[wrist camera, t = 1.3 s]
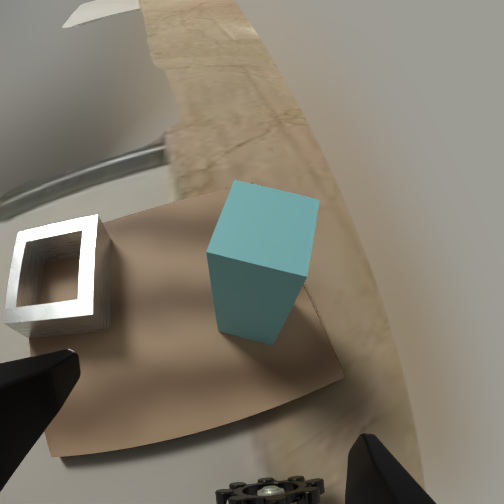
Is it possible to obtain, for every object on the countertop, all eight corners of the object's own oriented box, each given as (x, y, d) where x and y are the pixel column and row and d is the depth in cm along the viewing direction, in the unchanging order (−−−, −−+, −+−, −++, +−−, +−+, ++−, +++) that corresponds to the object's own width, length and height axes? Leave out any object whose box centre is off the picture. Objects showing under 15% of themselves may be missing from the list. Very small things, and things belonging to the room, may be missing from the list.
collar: (111, 330, 21) (93, 314, 18) (27, 337, 19) (3, 323, 16) (111, 239, 25) (98, 214, 22) (36, 253, 23) (18, 232, 20)
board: (340, 379, 21) (345, 376, 20) (59, 456, 16) (51, 457, 15) (251, 190, 30) (252, 182, 29) (33, 255, 25) (28, 248, 24)
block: (272, 345, 21) (307, 277, 12) (218, 331, 21) (206, 251, 12) (284, 295, 23) (319, 199, 14) (233, 282, 23) (234, 180, 14)
